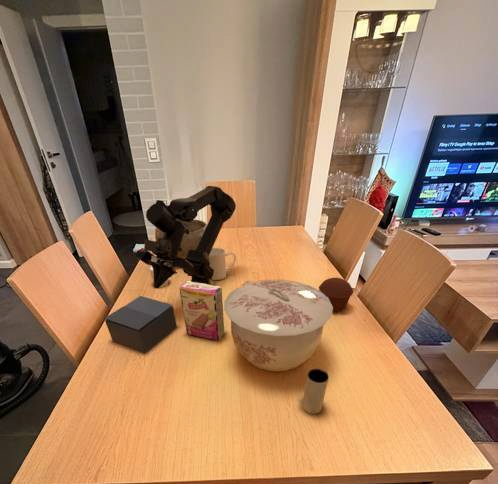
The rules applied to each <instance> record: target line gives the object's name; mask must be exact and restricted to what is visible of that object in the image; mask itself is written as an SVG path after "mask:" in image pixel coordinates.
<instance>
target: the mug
mask: <svg viewBox="0 0 498 484" xmlns="http://www.w3.org/2000/svg"><path fill="white" fill-rule="evenodd" d="M229 255H233V261H232V263H231V264H230V265H229V266H227V264H226V263H227V262H226V257H227V256H229ZM209 260H210V267H211V268H212V269H213V270H214V274H213V276H212V279H210V281H211V280H212V281H221V280H223V279H226V278H227V271H228V270H229V269H231V268H232V267H233V266H234V265H235V263H236V261H237V256H236V253H235V252H234V251H229V252H227V253H226V251H225V249H224V248H220V247H213V248H212V250H211V252H210V254H209Z"/></svg>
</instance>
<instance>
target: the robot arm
mask: <svg viewBox="0 0 498 484" xmlns="http://www.w3.org/2000/svg"><path fill="white" fill-rule="evenodd" d="M207 206H209V207H210V212H211V213H210V214H211V215H210V218H209V220H208V222H207V227H206V229H205V231H204V233H203V236H202V238H201V240H200V242H199V244H198V247H197V249H195V250H189V251H188V254H187V256H186V258H185V259H183V258H178V257H177V255H178V252H181V251H182V248H180V246H181V243H182V240H183V237H184V234H189V230H188V228H187V225H183V224H182V223H181V222H180V221H184V222H192V221H193V220H194V219H195V220H196V218H197V217H198V213H199V212H200V211H201V210H202V209H204V208H205V207H207ZM236 206H237V204H236V202H235V200H234V198H233V197H232V196H230V195H229V194H228V193H226V192H225V191H223V189H222V188H221V187H220V186H216V185H207V186H206V187H205V188H203V189H202V190H200V191H198V192H196V193H194V194H193V195H190V196H188V197H183V198H174V199H172V200H171V201H170V202H169V204H168V205H167V204H166V203H165V202H164V200H160V199H157V200H156V201H155V203H153V204H151V205H150V206H149V208H147V210H146V213H145V217H146V220H147V221H148V222H149V223H150V224H152V226H154V227H155V229H156V228H157V229H158V230H160V231H161V232H163V233H164V235H163V238H159V239H158V241H157V242H156V240H151V239H146V238H144V244H143V245H144V246H143V247H144V248H143V249H138V250H136V253H135V255H134V257H135V258H136V259H137V260H139V261H141V262H142V263H144V264H145V265H148V266H152V268H153V273H154V283H153V288H154V289H157V290H158V289H159V288H161V287H160V286H161V285H162V284H163V283H164V282H165V281H166V280H167V279H168V280H169V279H170V278H171V277H173V276H174V275H177V274H178V272H177V269H182V271H183V273H184V274H186V275H187V276H188V277H191V280H190V281H192V282H198V283H203V284H209V285H212V283H211V279H212V276H213V274H214V270H213V269H212V268H211V267H210V260H209V254H210V252H211V250H212V248H214V246H215V243H216V241H217V238H218V236H219V234H220V232H221V230H222V227H223V225H224V223H225V222H227V221H229V220H230V219H231V218H232V216H233V215H234V213H235V211H236V208H237V207H236ZM176 220H178V221H176Z"/></svg>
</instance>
